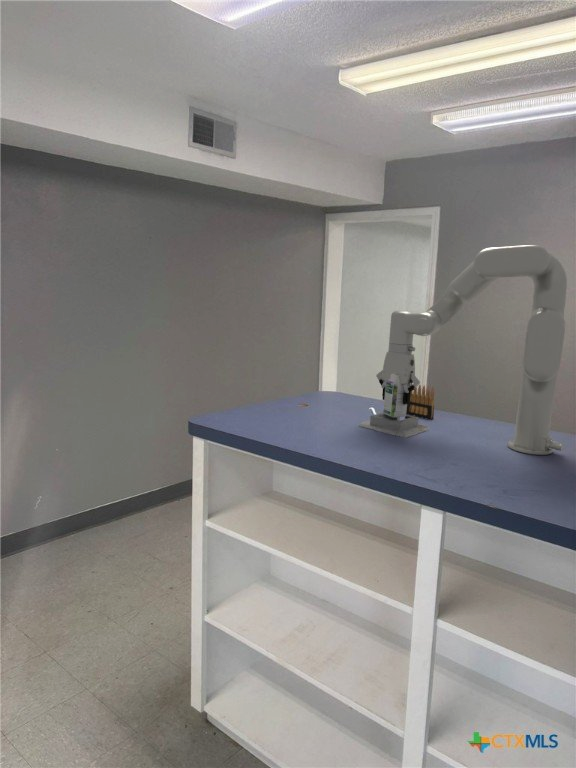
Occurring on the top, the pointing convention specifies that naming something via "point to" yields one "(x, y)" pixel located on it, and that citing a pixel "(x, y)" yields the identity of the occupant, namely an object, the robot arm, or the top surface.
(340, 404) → the top surface
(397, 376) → the syrup box
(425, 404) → the ammunition clip
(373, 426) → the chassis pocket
